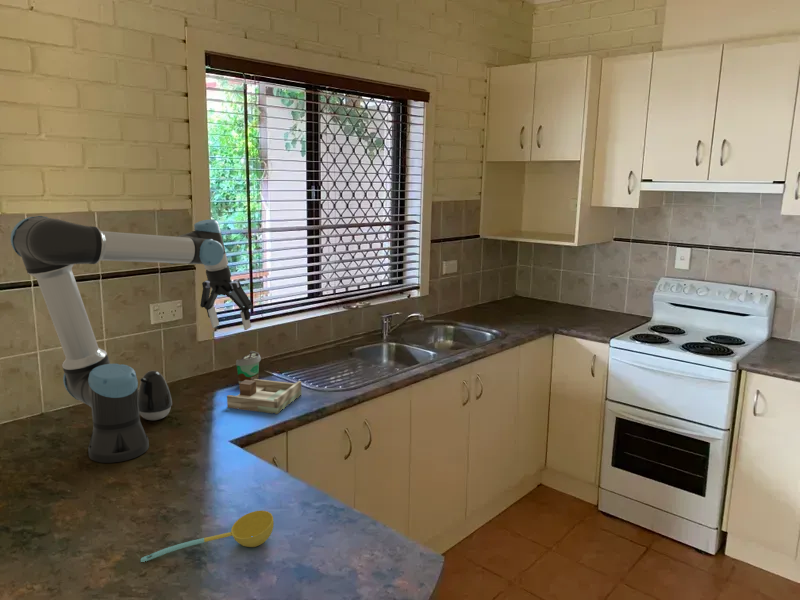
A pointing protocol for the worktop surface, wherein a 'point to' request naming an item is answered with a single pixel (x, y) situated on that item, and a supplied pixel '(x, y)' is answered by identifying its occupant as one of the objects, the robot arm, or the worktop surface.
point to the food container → (248, 367)
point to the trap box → (267, 397)
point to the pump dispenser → (154, 396)
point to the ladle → (234, 533)
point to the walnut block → (247, 387)
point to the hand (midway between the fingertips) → (231, 327)
